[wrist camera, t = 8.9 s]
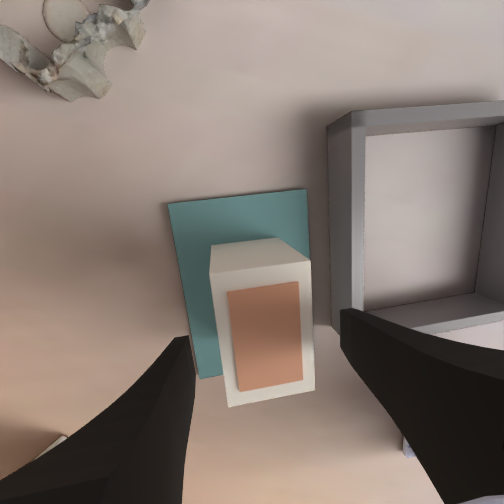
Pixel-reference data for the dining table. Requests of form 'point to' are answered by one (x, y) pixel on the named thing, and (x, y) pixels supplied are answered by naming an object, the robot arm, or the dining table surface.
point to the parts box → (263, 319)
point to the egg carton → (74, 46)
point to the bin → (353, 205)
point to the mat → (221, 232)
